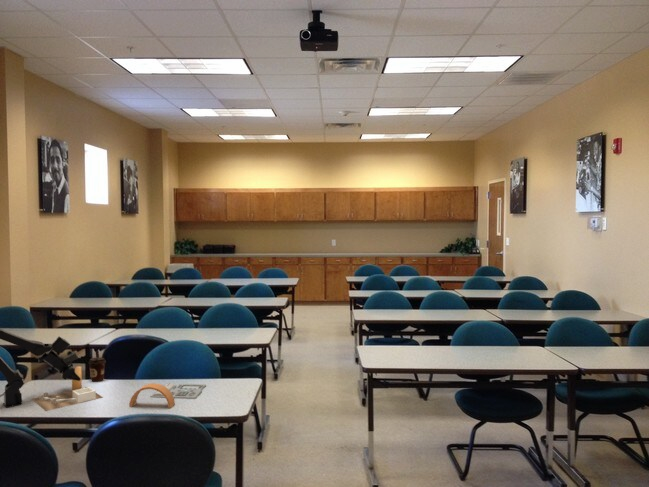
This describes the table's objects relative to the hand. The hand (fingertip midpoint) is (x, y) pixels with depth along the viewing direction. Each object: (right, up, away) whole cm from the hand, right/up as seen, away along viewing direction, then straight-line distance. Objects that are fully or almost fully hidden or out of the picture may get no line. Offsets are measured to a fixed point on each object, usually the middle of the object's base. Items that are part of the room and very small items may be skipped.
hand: (79, 378), depth 263 cm
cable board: (-1, -8, -10) cm, 13 cm away
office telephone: (+50, -8, +3) cm, 51 cm away
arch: (+42, -9, -17) cm, 47 cm away
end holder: (+7, -7, -10) cm, 14 cm away
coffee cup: (+1, -7, +18) cm, 20 cm away
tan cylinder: (-1, -7, 0) cm, 7 cm away
